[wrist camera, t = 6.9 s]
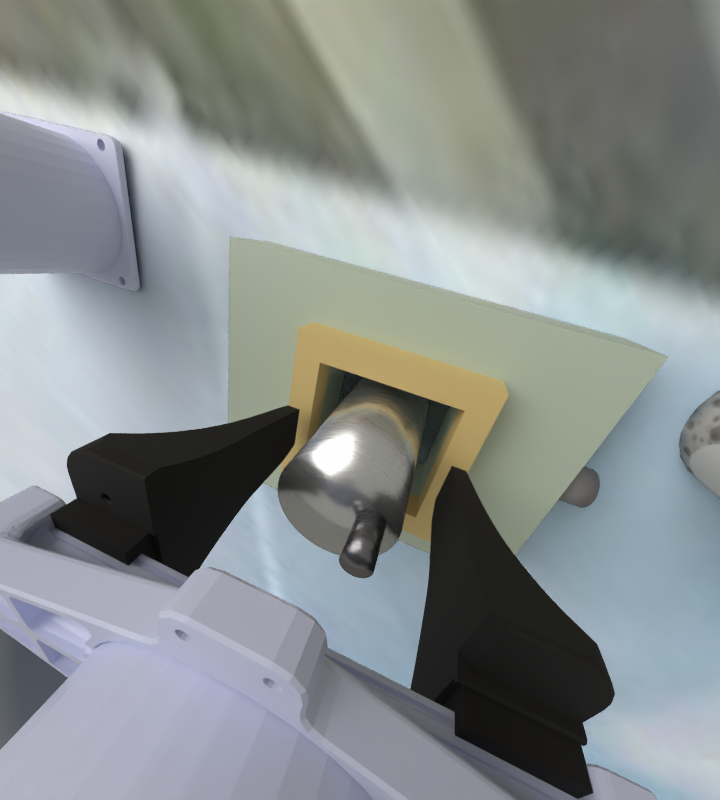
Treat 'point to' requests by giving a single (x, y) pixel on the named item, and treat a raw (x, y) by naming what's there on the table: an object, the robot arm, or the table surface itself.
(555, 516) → the table surface
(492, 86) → the table surface
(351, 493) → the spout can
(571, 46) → the table surface
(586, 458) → the green board with socket
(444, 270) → the table surface
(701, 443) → the mug
